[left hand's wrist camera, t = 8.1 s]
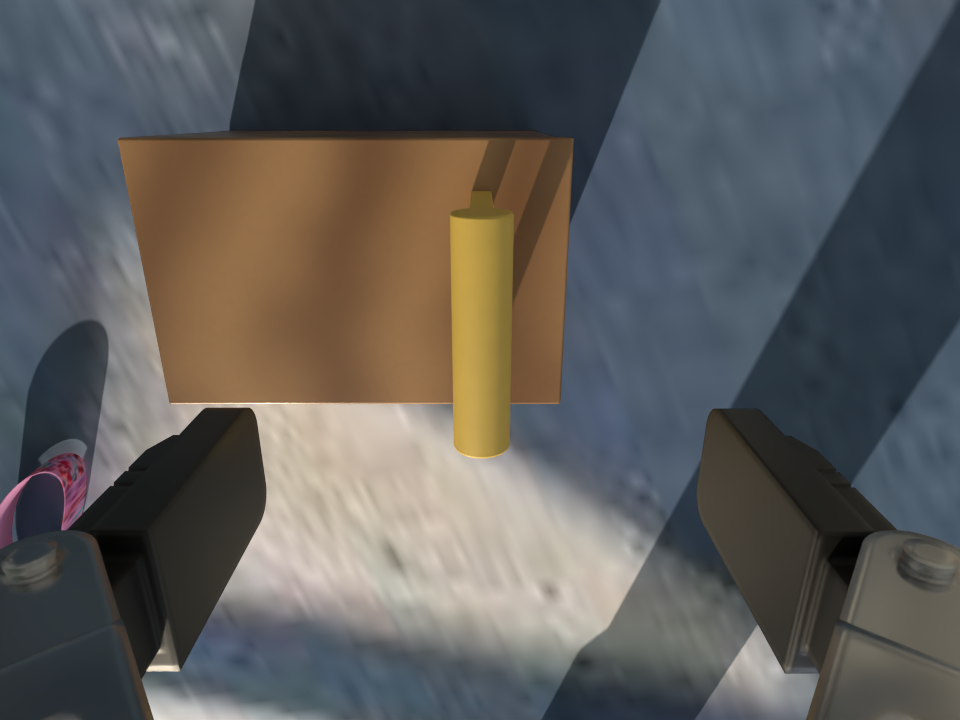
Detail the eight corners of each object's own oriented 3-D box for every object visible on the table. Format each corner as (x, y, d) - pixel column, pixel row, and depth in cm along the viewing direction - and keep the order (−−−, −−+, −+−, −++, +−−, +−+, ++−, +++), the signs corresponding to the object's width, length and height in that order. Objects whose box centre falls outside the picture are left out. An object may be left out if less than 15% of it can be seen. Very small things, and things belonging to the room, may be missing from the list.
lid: (570, 136, 22) (616, 147, 15) (557, 394, 25) (589, 507, 18) (130, 136, 22) (-45, 147, 15) (179, 394, 25) (58, 507, 18)
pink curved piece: (27, 436, 36) (0, 456, 34) (96, 459, 37) (75, 480, 35) (-2, 576, 40) (-27, 602, 38) (62, 595, 40) (41, 621, 38)
